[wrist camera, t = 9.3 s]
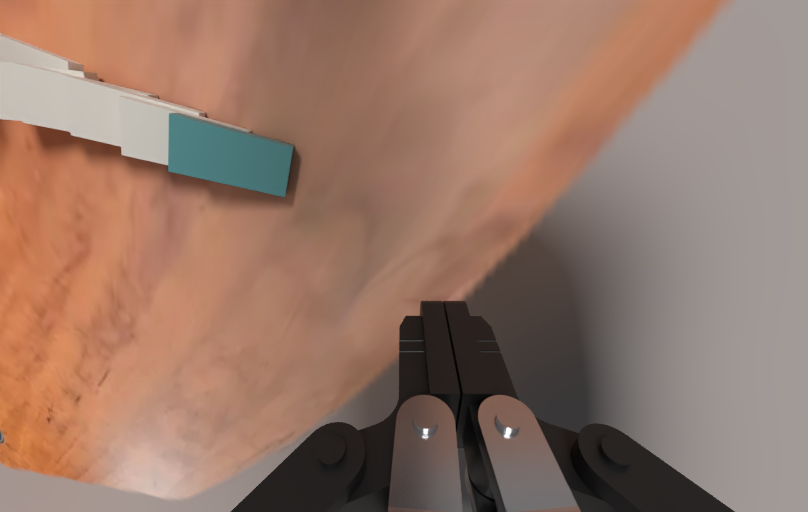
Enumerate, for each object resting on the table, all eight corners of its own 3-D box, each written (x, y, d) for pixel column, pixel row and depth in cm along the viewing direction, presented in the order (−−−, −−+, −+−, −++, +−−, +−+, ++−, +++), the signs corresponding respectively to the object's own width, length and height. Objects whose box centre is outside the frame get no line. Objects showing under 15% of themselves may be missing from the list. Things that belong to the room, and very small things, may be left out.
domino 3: (160, 145, 33) (40, 121, 30) (157, 95, 31) (28, 64, 28) (151, 147, 31) (23, 122, 28) (147, 94, 29) (9, 61, 26)
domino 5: (246, 177, 33) (132, 151, 29) (251, 130, 31) (131, 96, 28) (242, 182, 31) (121, 155, 28) (247, 131, 29) (118, 96, 26)
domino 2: (112, 126, 33) (-6, 116, 31) (97, 73, 31) (-31, 58, 29) (99, 127, 31) (-27, 116, 29) (82, 71, 29) (-55, 55, 27)
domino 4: (203, 160, 33) (85, 133, 30) (205, 112, 31) (80, 76, 28) (196, 164, 31) (70, 135, 28) (199, 112, 29) (64, 75, 26)
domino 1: (92, 115, 34) (9, 83, 34) (90, 66, 32) (2, 32, 32) (71, 113, 32) (-17, 80, 32) (67, 61, 30) (-25, 25, 30)
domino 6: (286, 192, 33) (176, 167, 29) (294, 145, 31) (178, 112, 27) (284, 197, 31) (168, 171, 27) (292, 147, 29) (168, 113, 26)
